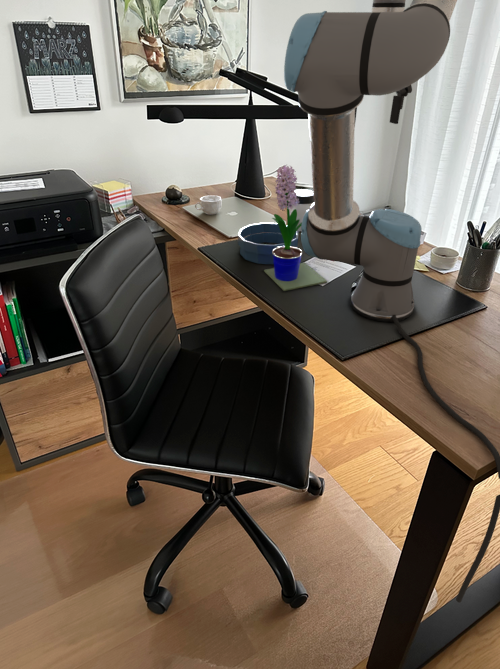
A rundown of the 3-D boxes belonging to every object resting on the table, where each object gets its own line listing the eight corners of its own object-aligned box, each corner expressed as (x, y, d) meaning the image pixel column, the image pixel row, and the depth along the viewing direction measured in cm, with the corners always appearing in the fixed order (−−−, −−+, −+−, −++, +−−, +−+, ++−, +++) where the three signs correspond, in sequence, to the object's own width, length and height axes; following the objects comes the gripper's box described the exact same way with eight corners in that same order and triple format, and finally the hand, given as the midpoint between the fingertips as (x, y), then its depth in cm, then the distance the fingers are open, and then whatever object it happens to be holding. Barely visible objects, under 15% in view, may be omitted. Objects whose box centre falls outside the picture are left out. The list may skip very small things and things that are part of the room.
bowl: (307, 259, 142) (309, 239, 139) (252, 269, 136) (252, 249, 133) (281, 237, 156) (282, 219, 153) (230, 246, 150) (229, 227, 147)
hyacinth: (305, 285, 127) (313, 170, 110) (267, 281, 129) (270, 168, 112) (309, 271, 134) (317, 161, 117) (273, 267, 136) (276, 159, 119)
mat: (326, 282, 129) (327, 281, 129) (284, 291, 125) (284, 289, 125) (304, 263, 139) (304, 262, 139) (264, 271, 135) (264, 269, 135)
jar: (284, 225, 166) (285, 190, 159) (303, 221, 169) (306, 187, 162) (298, 233, 159) (300, 198, 152) (318, 229, 162) (321, 194, 156)
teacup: (218, 208, 180) (217, 194, 177) (224, 214, 174) (224, 200, 172) (192, 211, 177) (191, 197, 174) (198, 218, 171) (197, 203, 168)
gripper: (417, 29, 120) (402, 119, 132) (332, 29, 112) (324, 125, 124) (437, 29, 115) (419, 123, 126) (349, 29, 107) (339, 130, 118)
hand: (372, 125), depth 125 cm, fingers open, 13 cm apart
